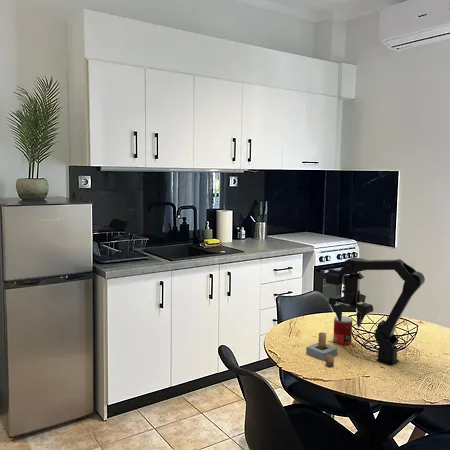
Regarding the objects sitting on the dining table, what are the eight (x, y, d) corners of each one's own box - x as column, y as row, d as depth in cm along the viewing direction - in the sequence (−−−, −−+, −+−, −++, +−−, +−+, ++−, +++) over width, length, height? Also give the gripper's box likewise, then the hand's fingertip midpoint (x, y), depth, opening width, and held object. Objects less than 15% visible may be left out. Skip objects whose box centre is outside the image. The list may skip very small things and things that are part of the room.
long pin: (326, 354, 196) (327, 334, 195) (322, 356, 194) (323, 335, 193) (321, 352, 198) (321, 332, 197) (316, 354, 197) (317, 333, 195)
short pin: (335, 366, 185) (335, 356, 185) (330, 368, 183) (330, 358, 183) (328, 363, 188) (329, 353, 187) (324, 365, 186) (324, 355, 185)
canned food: (347, 347, 205) (348, 322, 204) (330, 342, 210) (331, 318, 209) (354, 342, 211) (355, 318, 210) (337, 337, 216) (338, 314, 215)
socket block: (337, 355, 196) (337, 348, 196) (323, 360, 190) (323, 353, 190) (319, 348, 203) (320, 342, 202) (306, 353, 197) (306, 346, 197)
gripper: (381, 289, 195) (379, 326, 197) (343, 280, 209) (342, 315, 211) (366, 293, 188) (364, 331, 190) (328, 284, 202) (326, 320, 204)
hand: (349, 324), depth 199 cm, fingers open, 9 cm apart
